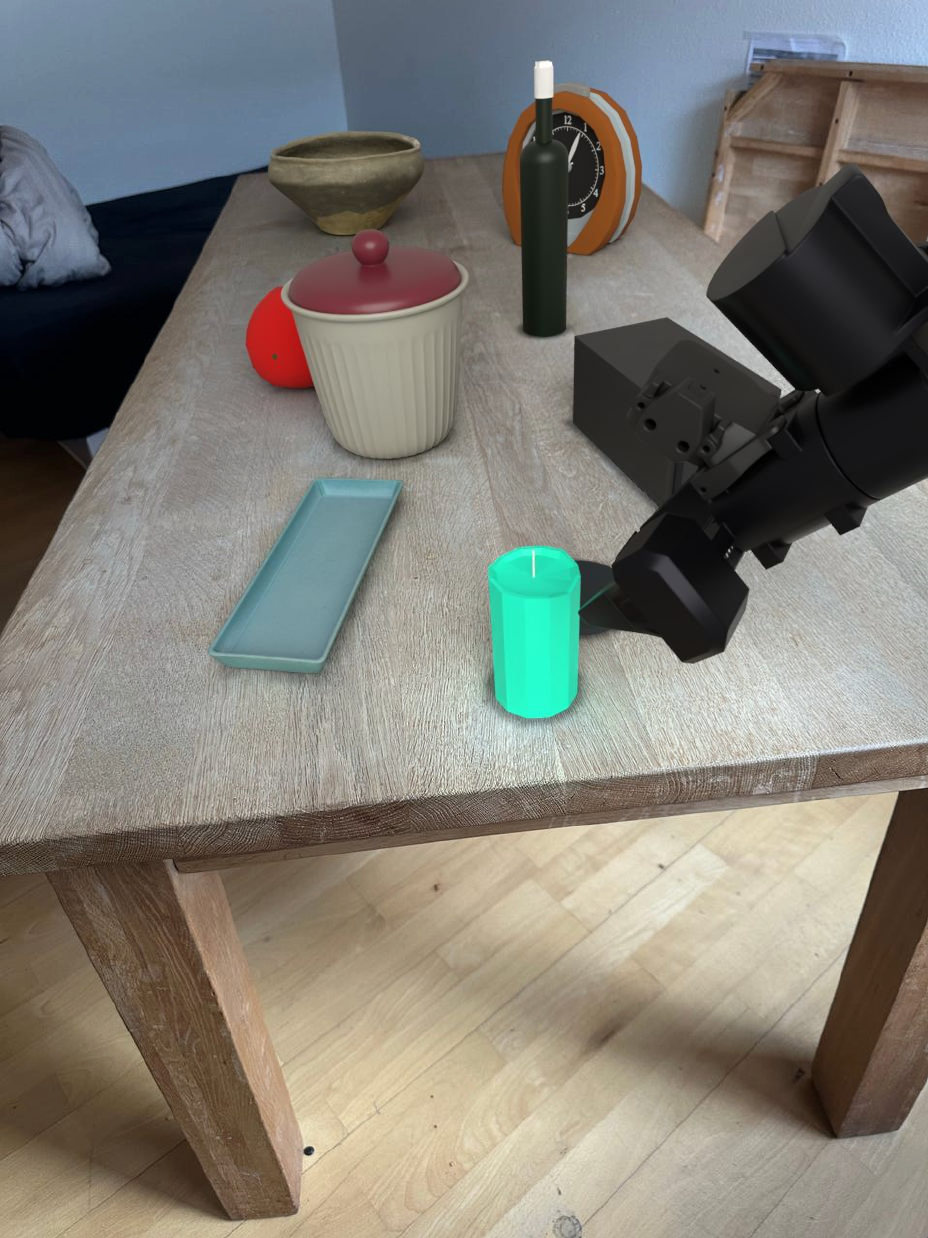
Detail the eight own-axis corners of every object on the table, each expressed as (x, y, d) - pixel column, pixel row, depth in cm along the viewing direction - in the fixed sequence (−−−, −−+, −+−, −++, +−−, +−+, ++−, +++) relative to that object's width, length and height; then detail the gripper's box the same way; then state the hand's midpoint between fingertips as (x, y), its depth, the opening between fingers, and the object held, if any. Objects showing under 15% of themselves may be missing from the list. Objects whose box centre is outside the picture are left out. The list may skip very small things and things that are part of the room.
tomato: (291, 427, 102) (360, 387, 110) (321, 351, 92) (394, 313, 100) (215, 356, 102) (290, 321, 111) (238, 272, 92) (318, 241, 101)
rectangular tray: (317, 494, 83) (312, 472, 82) (407, 498, 82) (404, 475, 80) (212, 678, 63) (203, 653, 62) (328, 687, 62) (322, 662, 60)
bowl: (311, 260, 143) (295, 167, 134) (259, 225, 162) (243, 142, 153) (456, 227, 152) (450, 139, 143) (391, 199, 171) (382, 119, 162)
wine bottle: (536, 318, 116) (534, 57, 97) (573, 324, 113) (579, 57, 94) (514, 332, 112) (508, 64, 93) (552, 339, 109) (553, 65, 90)
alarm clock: (495, 241, 144) (490, 86, 130) (528, 226, 150) (525, 76, 136) (609, 258, 133) (616, 91, 119) (639, 241, 139) (650, 79, 125)
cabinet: (764, 485, 79) (782, 389, 73) (663, 511, 77) (673, 414, 71) (659, 402, 94) (667, 316, 88) (572, 422, 91) (574, 335, 85)
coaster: (658, 604, 67) (659, 598, 66) (570, 651, 63) (570, 645, 63) (583, 553, 73) (584, 547, 72) (499, 593, 69) (499, 587, 69)
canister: (499, 407, 95) (491, 206, 82) (442, 489, 82) (421, 265, 69) (355, 393, 101) (326, 202, 87) (281, 467, 88) (232, 256, 74)
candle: (508, 727, 58) (501, 588, 50) (483, 670, 62) (474, 535, 55) (590, 707, 59) (596, 567, 51) (560, 652, 63) (561, 517, 56)
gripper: (801, 242, 43) (594, 403, 55) (676, 385, 31) (445, 553, 43) (924, 411, 45) (698, 533, 57) (850, 609, 33) (582, 712, 45)
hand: (615, 573), depth 50 cm, fingers open, 9 cm apart
